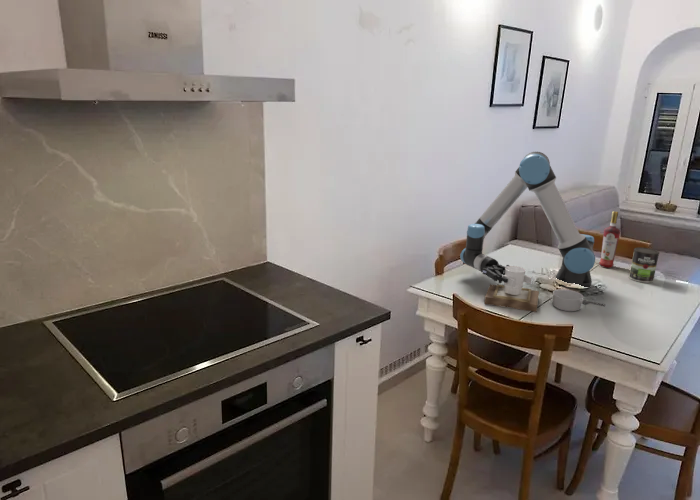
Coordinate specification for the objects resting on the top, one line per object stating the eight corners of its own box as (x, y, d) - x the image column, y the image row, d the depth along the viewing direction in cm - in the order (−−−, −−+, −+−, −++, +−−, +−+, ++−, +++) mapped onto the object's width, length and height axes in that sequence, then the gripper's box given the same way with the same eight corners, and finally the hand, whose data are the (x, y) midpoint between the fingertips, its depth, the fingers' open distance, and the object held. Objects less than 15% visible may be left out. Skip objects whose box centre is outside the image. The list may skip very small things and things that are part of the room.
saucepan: (596, 322, 193) (599, 308, 192) (545, 306, 207) (547, 294, 205) (608, 314, 201) (610, 300, 199) (558, 299, 215) (560, 287, 213)
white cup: (525, 295, 207) (528, 272, 204) (505, 295, 207) (508, 272, 204) (519, 288, 215) (522, 266, 212) (500, 288, 215) (503, 265, 212)
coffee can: (655, 284, 234) (661, 254, 230) (630, 281, 238) (635, 252, 234) (651, 277, 243) (657, 248, 239) (627, 274, 247) (632, 246, 243)
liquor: (597, 266, 257) (606, 212, 249) (599, 263, 263) (607, 209, 254) (613, 269, 253) (623, 214, 245) (614, 265, 259) (624, 211, 251)
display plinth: (538, 297, 216) (539, 289, 215) (536, 311, 201) (537, 302, 200) (489, 290, 223) (490, 282, 222) (484, 303, 208) (485, 295, 207)
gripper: (504, 270, 230) (540, 287, 210) (466, 275, 222) (500, 294, 202) (506, 254, 228) (543, 270, 208) (468, 259, 220) (502, 276, 200)
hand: (522, 282), depth 205 cm, fingers closed on white cup, 8 cm apart
